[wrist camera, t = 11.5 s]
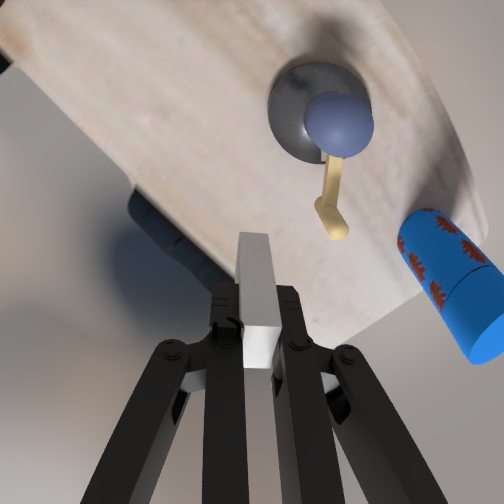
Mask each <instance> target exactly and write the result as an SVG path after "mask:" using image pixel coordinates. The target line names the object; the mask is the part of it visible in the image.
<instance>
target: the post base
mask: <svg viewBox="0 0 504 504" xmlns="http://www.w3.org/2000/svg"><path fill="white" fill-rule="evenodd" d="M328 91H336V92H340V93H344V94H348V95H351V96H354V97H356V98H358V99H360V100H361V101H362V102H363V103H365V105H366V106H367V107H368V109H369V110H370V112H371V114H372V108H371V103H370V99H369V96H368V94H367V92H366V90H365V88H364V87H363V85H362V84H361V82H360V81H359V80H358V79H357V78H356V77H355V76H354V75H353V74H351V73H350V72H348V71H347V70H345V69H343V68H341V67H339V66H336V65H333V64H328V63H309V64H305V65H301V66H298V67H296V68H294V69H292V70H290V71H289V72H288V73H286V74H285V75H284V76H283V77H282V78H281V79H280V80H279V81H278V82H277V84H276V85H275V87H274V88H273V90H272V93H271V95H270V98H269V102H268V120H269V124H270V128H271V130H272V132H273V135H274V136H275V138H276V140H277V141H278V143H279V144H280V145H281V146H282V148H283V149H284V150H286V151H287V152H288V153H289V154H291V155H292V156H293V157H295V158H297V159H299V160H302V161H304V162H308V163H312V164H326V155H327V153H325V152H324V151H322V150H321V149H320V148H319V147H318V146H317V145H316V144H315V143H314V142H313V141H312V140H311V139H310V137H309V136H308V135H307V133H306V131H305V128H304V123H303V117H304V112H305V109H306V107H307V105H308V103H309V102H310V101H311V100H312V99H313V98H314V97H315V96H317V95H319V94H321V93H323V92H328ZM343 159H345V158H343Z"/></svg>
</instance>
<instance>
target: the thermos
mask: <svg viewBox="0 0 504 504" xmlns="http://www.w3.org/2000/svg"><path fill="white" fill-rule="evenodd" d="M397 246H398V248H399V251H400V253H401V255H402V256H403V258H404V260H405V261H406V263H407V265H408V266H409V268H410V269H411V271H412V272H413V274H414V275H415V277H416V278H417V280H418V281H419V283H420V284H421V286H422V287H423V289H424V290H425V291H426V293H427V295H428V296H429V298H430V299H431V301H432V302H433V304H434V305H435V307H436V309H437V310H438V312H439V313H440V315H441V317H442V318H443V320H444V322H445V323H446V325H447V326H448V328H449V330H450V332H451V333H452V335H453V337H454V338H455V340H456V342H457V343H458V345H459V347H460V349H461V350H462V352H463V354H464V355H465V356H466V358H467V359H468V360H469V361H470V362H471V363H472V364H474V365H477V364H483V363H485V362H488V361H490V360H492V359H494V358H495V357H497V356H499V355H500V354H501V353H502V352H504V275H503V274H502V273H501V272H500V271H499V270H498V269H497V268H496V266H495V265H494V264H493V263H492V262H491V261H490V260H489V259H488V258H487V257H486V256H485V254H484V253H482V251H481V250H480V249H479V248H478V247H477V246H476V245H475V244H474V243H473V242H472V241H471V240H470V239H469V238H468V237H467V236H466V235H465V234H464V233H463V232H462V231H461V230H460V229H459V228H458V227H457V226H456V225H455V224H453V223H452V222H451V221H450V220H449V219H448V218H446V217H445V216H444V215H443V214H441V213H440V212H439V211H436V210H434V209H422V210H420V211H417V212H415V213H414V214H412V215H411V216H410V217H409V218H408V219H407V220H406V221H405V222H404V224H403V225H402V227H401V229H400V232H399V234H398V245H397Z"/></svg>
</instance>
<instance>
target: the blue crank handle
mask: <svg viewBox="0 0 504 504" xmlns="http://www.w3.org/2000/svg"><path fill="white" fill-rule="evenodd" d="M303 123H304V128H305V131H306V133H307V135H308V136H309V137H310V139H311V140H312V141H313V142H314V143H315V144H316V145H317V146H318V147H319V148H320V149H321V150H322V151H324V152H325V153H327V155H326V165H325V175H324V184H323V193H322V196H321V197H319V198H317V199H316V201H315V204H314V207H315V209H316V211H317V213H318V215H319V217H320V219H321V221H322V223H323V225H324V227H325V229H326V231H327V234H328V236H329V237H330V238H331V239H332V240H336V241H337V240H342V239H343V238H345V237H346V236H347V234H348V231H349V228H348V225H347V224H346V222H345V220H344V219H343V217H342V216H341V214H340V212H339V211H338V209H337V208H336V207H337V200H338V193H339V185H340V177H341V169H342V161H343V158H347V157H351V156H354V155H356V154H358V153H360V152H361V151H362V150H363V149H365V147H366V146H367V145H368V144H369V142H370V140H371V138H372V135H373V130H374V122H373V117H372V114H371V112H370V110H369V109H368V107H367V106H366V105H365V103H363V102H362V101H361V100H360V99H358V98H356V97H354V96H351V95H348V94H344V93H340V92H336V91H328V92H323V93H321V94H319V95H317V96H315V97H314V98H313V99H312V100H311V101H310V102H309V103H308V105H307V107H306V109H305V112H304V117H303Z"/></svg>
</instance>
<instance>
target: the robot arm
mask: <svg viewBox="0 0 504 504" xmlns="http://www.w3.org/2000/svg"><path fill="white" fill-rule="evenodd" d="M272 363H273V373H272V377H271V380H270V383H269V388H271V387H272V391H273V402H274V413H275V423H276V435H277V446H278V457H279V469H280V480H281V492H282V503H283V504H345V499H344V493H343V487H342V481H341V475H340V470H339V464H338V458H337V453H336V447H335V442H334V437H333V431H332V428H333V430H334V432H335V434H336V436H337V438H338V440H339V442H340V445H341V446H342V449H343V451H344V453H345V455H346V457H347V459H348V461H349V463H350V465H351V468H352V470H353V472H354V474H355V476H356V478H357V480H358V482H359V484H360V487H361V489H362V490H363V493H364V495H365V497H366V499H367V501H368V503H369V504H448V502H447V500H446V498H445V497H444V495H443V493H442V491H441V489H440V487H439V485H438V483H437V482H436V480H435V478H434V476H433V474H432V472H431V471H430V469H429V467H428V466H427V463H426V462H425V460H424V458H423V456H422V454H421V453H420V451H419V449H418V447H417V445H416V444H415V442H414V440H413V438H412V437H411V435H410V433H409V431H408V430H407V428H406V426H405V425H404V423H403V421H402V420H401V418H400V416H399V414H398V413H397V411H396V409H395V407H394V406H393V404H392V402H391V401H390V399H389V397H388V396H387V394H386V392H385V391H384V389H383V387H382V386H381V384H380V382H379V381H378V379H377V377H376V376H375V374H374V372H373V371H372V369H371V367H370V366H369V364H368V362H367V361H366V359H365V358H364V356H363V354H362V353H361V352H360V351H359V349H357V348H356V347H354V346H352V345H347V344H345V345H340V346H337V347H336V348H335V350H332V349H328V348H325V347H322V346H319V345H317V344H315V343H314V342H313V340H312V338H311V337H310V336H308V334H307V330H306V325H305V321H304V316H303V312H302V307H301V303H300V298H299V294H298V292H297V291H296V290H295V289H294V287H293V286H282V285H276V283H275V277H274V270H273V264H272V257H271V251H270V245H269V238H268V234H262V233H249V232H240V233H239V242H238V252H237V261H236V270H235V283H222V282H217V284H216V285H215V287H214V288H213V290H212V303H211V316H210V324H209V333H208V335H207V336H206V337H205V338H204V339H203V340H201V341H200V342H197V343H193V344H188V345H186V344H185V343H184V342H182V341H180V340H176V339H169V340H165V341H163V342H161V343H159V344H158V346H157V347H156V348H155V350H154V352H153V354H152V356H151V358H150V360H149V362H148V364H147V366H146V368H145V369H144V371H143V373H142V375H141V377H140V379H139V381H138V383H137V385H136V387H135V389H134V391H133V393H132V395H131V397H130V399H129V401H128V403H127V405H126V407H125V409H124V411H123V413H122V415H121V417H120V419H119V421H118V423H117V426H116V427H115V429H114V431H113V434H112V436H111V438H110V440H109V442H108V444H107V446H106V448H105V450H104V453H103V454H102V456H101V459H100V461H99V463H98V465H97V467H96V470H95V472H94V474H93V476H92V478H91V480H90V483H89V485H88V487H87V489H86V491H85V493H84V496H83V498H82V500H81V502H80V504H149V502H150V500H151V497H152V494H153V492H154V489H155V486H156V483H157V481H158V478H159V476H160V473H161V470H162V468H163V465H164V462H165V460H166V457H167V455H168V452H169V449H170V447H171V444H172V441H173V439H174V436H175V433H176V430H177V428H178V426H179V423H180V420H181V418H182V415H183V412H184V410H185V407H186V405H187V402H188V400H189V397H190V394H191V392H194V391H199V390H203V389H205V411H204V436H203V470H202V504H249V486H248V464H247V441H246V417H245V393H244V368H271V365H272Z"/></svg>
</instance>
